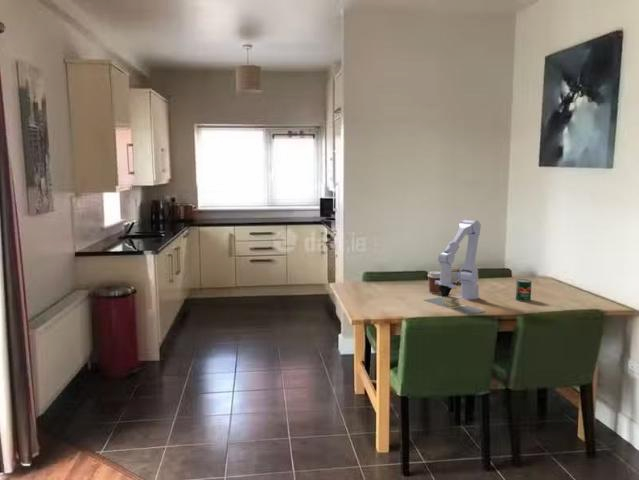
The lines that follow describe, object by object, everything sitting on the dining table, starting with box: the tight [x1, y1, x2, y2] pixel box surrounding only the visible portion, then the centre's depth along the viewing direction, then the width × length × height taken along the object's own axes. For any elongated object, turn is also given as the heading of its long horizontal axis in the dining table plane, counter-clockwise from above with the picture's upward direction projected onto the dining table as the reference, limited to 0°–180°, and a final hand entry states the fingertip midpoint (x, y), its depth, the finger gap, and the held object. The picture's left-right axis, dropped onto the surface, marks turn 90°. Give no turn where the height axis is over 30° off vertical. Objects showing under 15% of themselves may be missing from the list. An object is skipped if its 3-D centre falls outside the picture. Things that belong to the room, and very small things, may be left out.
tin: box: [451, 269, 461, 284], centre depth 340 cm, size 15×3×8 cm, turn 92°
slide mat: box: [423, 297, 487, 316], centre depth 284 cm, size 12×34×1 cm, turn 30°
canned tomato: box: [515, 278, 533, 302], centre depth 297 cm, size 8×8×11 cm
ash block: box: [442, 295, 460, 307], centre depth 285 cm, size 6×6×4 cm
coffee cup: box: [427, 270, 441, 295], centre depth 314 cm, size 9×9×12 cm
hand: (444, 299), depth 289 cm, fingers closed
